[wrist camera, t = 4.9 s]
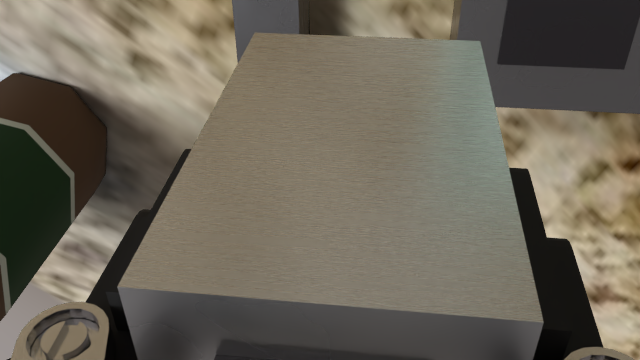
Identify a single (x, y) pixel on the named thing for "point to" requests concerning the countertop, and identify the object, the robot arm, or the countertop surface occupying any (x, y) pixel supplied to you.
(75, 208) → the beer bottle
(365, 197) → the block
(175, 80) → the countertop surface
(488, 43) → the grey slotted block
